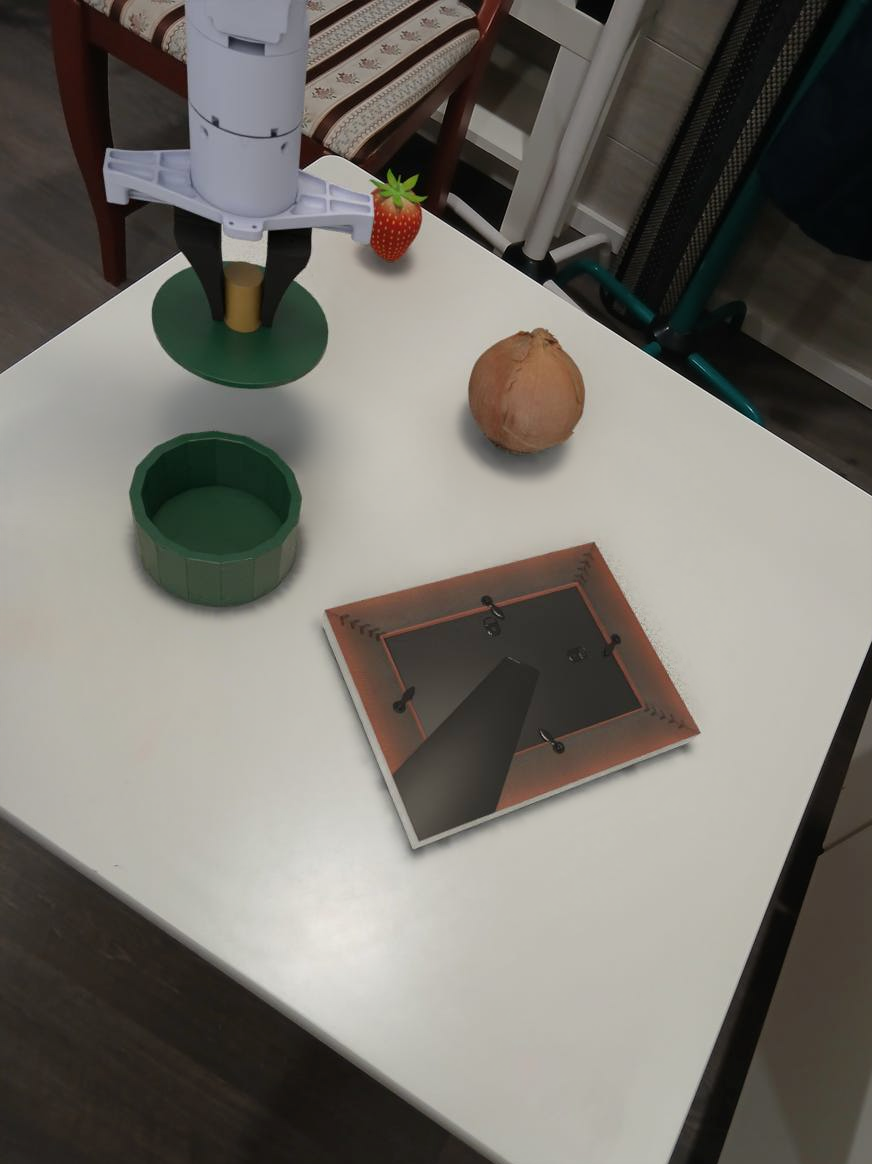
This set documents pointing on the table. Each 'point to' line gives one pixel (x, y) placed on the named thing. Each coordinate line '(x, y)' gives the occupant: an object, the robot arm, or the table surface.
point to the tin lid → (239, 329)
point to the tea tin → (215, 517)
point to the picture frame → (504, 688)
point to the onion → (526, 392)
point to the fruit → (395, 217)
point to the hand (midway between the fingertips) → (242, 313)
